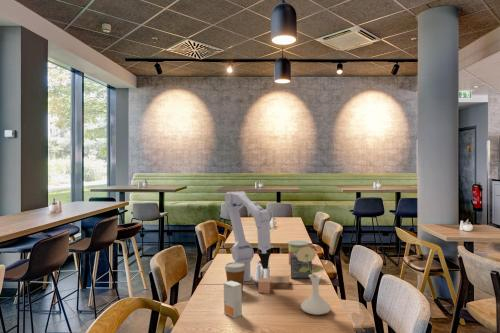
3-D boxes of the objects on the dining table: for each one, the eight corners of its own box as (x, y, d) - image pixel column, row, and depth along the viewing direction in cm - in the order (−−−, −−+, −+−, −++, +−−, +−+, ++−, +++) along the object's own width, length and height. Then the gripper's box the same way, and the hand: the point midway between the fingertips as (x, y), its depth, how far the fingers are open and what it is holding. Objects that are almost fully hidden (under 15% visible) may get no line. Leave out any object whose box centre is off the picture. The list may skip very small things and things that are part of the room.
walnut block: (270, 288, 166) (269, 282, 166) (270, 282, 175) (270, 276, 175) (289, 289, 166) (289, 282, 165) (288, 282, 174) (288, 276, 174)
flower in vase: (331, 307, 143) (330, 244, 143) (330, 319, 132) (329, 251, 132) (298, 304, 147) (297, 242, 146) (294, 315, 136) (293, 249, 135)
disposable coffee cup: (243, 295, 157) (243, 268, 157) (222, 294, 159) (222, 267, 159) (247, 288, 167) (247, 262, 166) (228, 286, 169) (227, 261, 168)
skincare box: (223, 313, 138) (223, 282, 138) (231, 310, 141) (231, 280, 141) (234, 318, 134) (233, 286, 134) (242, 314, 137) (242, 283, 137)
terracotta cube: (258, 292, 161) (258, 281, 161) (259, 288, 166) (258, 278, 166) (269, 292, 160) (269, 281, 160) (269, 288, 165) (269, 278, 165)
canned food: (289, 266, 200) (289, 245, 200) (288, 261, 211) (287, 240, 211) (309, 266, 200) (309, 244, 199) (307, 260, 211) (307, 240, 211)
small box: (311, 275, 184) (311, 254, 184) (312, 279, 178) (312, 258, 178) (290, 274, 185) (290, 254, 185) (290, 278, 179) (290, 257, 179)
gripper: (272, 238, 156) (274, 270, 156) (272, 233, 171) (274, 262, 170) (256, 239, 157) (258, 270, 156) (258, 234, 171) (259, 263, 171)
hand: (265, 266), depth 163 cm, fingers open, 7 cm apart
